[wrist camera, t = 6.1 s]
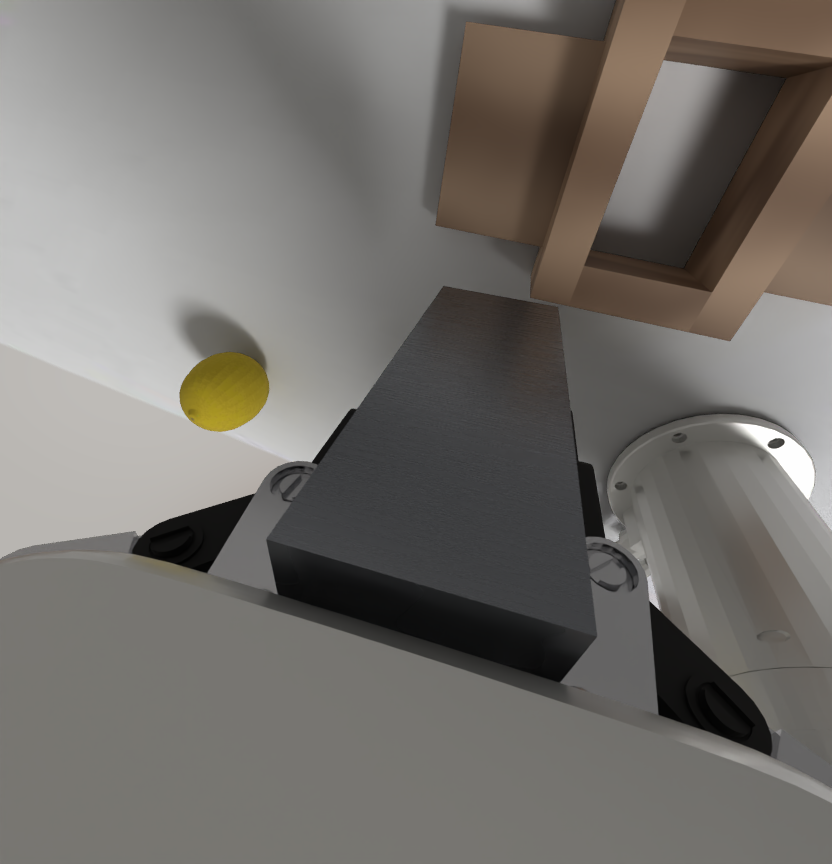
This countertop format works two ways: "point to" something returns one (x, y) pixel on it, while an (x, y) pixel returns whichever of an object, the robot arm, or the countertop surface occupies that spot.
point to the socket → (608, 146)
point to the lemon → (224, 391)
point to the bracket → (455, 495)
